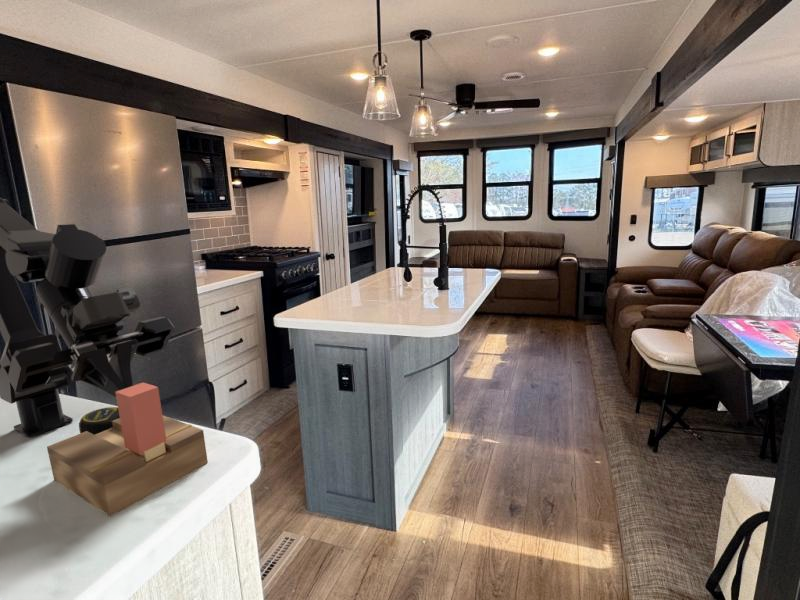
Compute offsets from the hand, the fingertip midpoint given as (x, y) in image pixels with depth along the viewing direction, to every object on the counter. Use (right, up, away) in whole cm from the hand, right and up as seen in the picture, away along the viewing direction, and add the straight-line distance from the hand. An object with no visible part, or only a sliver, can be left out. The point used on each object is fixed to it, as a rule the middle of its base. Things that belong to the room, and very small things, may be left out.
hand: (130, 400), depth 59 cm
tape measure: (-12, -9, +15) cm, 22 cm away
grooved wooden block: (-2, -11, +4) cm, 11 cm away
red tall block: (+2, -7, 0) cm, 7 cm away
